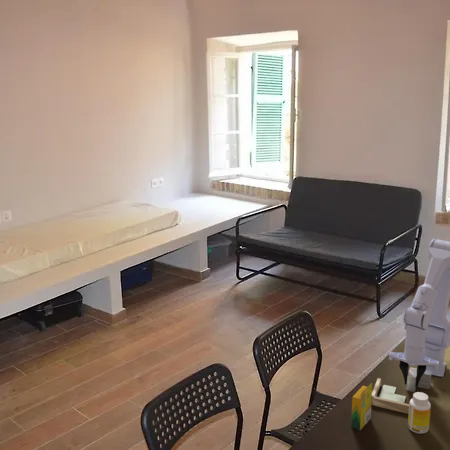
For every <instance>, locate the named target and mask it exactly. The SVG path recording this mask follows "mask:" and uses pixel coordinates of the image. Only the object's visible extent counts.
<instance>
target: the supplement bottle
mask: <svg viewBox="0 0 450 450" xmlns="http://www.w3.org/2000/svg"><path fill="white" fill-rule="evenodd" d="M408 404H409V414H408V416H407V417H408V419H407V426H408V429H409V430H410V432H411V431H412V432H413V433H415V434H421V435H423V434H426V433H428V431H429V429H430V422H431V421H430V418H431V409H432V407H431V405H432V404H431V402H430V400H429V395H428V394H426V393H424V392H422V391H420V392H419V391H417V392H416V391H415V392H413V394H412V398H411V399H410V401H409V403H408Z"/></svg>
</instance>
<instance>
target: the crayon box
mask: <svg viewBox="0 0 450 450" xmlns="http://www.w3.org/2000/svg"><path fill="white" fill-rule="evenodd" d="M372 392H373V382H371V383H369V385H368V386H365V385H364V384H363V385H362V386H361V387H359V389H358V390H357V391H356V393H355V394H353V396H352V399H351V400H352V401H351V418H350V419H351V421H350V422H351V423H350V424H351V426H350V427H351V428H353V429H355V430H357V431H362V429H363V428H364V427H365V425H367V424H368V422H369V421H370V420H371V417H372V415H371V414H372V405H371V397H372Z"/></svg>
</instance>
